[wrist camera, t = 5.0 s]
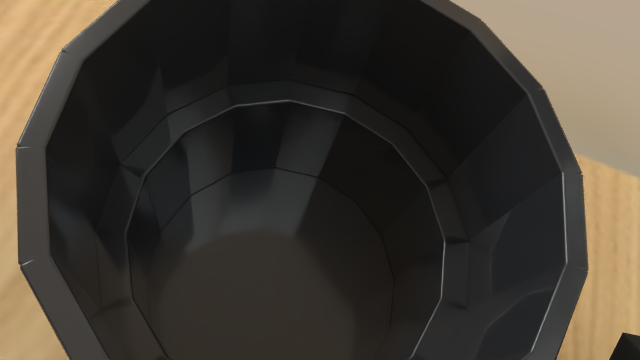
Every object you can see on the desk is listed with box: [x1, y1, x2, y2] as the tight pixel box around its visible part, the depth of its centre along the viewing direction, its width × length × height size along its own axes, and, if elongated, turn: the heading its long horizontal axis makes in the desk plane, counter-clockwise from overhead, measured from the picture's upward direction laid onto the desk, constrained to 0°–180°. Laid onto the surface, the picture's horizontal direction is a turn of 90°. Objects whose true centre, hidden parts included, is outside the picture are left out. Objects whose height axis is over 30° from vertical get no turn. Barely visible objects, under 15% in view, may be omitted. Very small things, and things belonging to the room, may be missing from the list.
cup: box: [16, 0, 588, 360], centre depth 15 cm, size 11×11×10 cm
